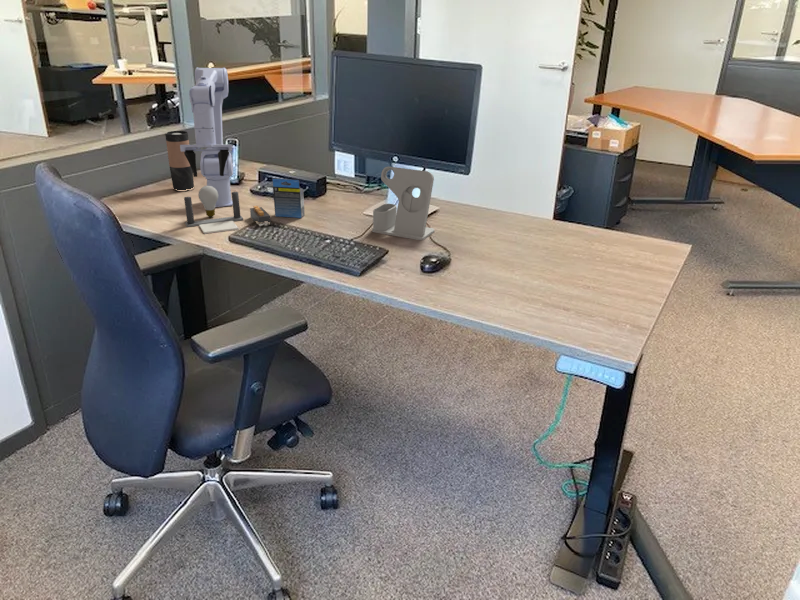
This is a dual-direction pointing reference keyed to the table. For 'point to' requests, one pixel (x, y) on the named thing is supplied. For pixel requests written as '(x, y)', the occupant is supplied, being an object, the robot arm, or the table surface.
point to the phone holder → (405, 205)
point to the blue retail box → (288, 198)
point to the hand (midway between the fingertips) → (208, 176)
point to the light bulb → (208, 199)
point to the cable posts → (191, 221)
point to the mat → (218, 227)
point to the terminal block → (259, 214)
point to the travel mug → (179, 160)
